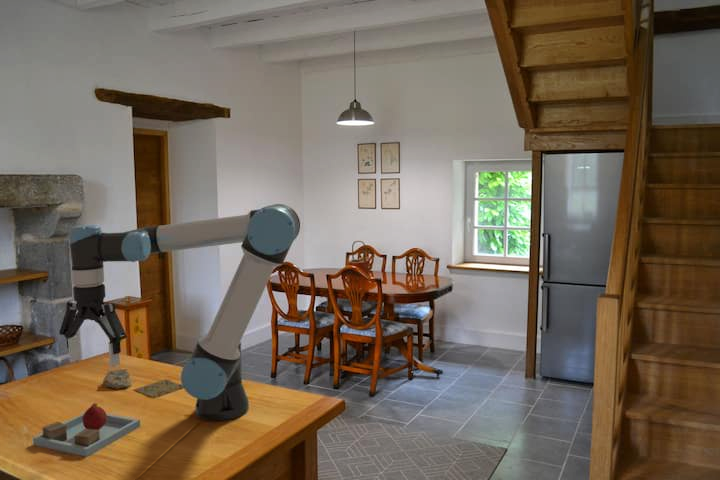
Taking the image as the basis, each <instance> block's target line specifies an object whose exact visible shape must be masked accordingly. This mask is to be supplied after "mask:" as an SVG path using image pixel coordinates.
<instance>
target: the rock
mask: <svg viewBox="0 0 720 480" xmlns="http://www.w3.org/2000/svg"><path fill="white" fill-rule="evenodd" d="M102 383H103V385H104V386H105V387H109V388H114V389H115V390H116V389H117V390H118V389H122V388H129V387H131V386H132V384H131V383H132V381H131V379H130V372H129V371H128V369H127V368H125V369H124V368H123V369H122V368H121V369H120V368H119V369H114V370H110V371H107V374H106V376H105V377H104V378H103V380H102Z"/></svg>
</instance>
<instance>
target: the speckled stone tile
mask: <svg viewBox="0 0 720 480" xmlns="http://www.w3.org/2000/svg"><path fill="white" fill-rule="evenodd" d="M179 390H184V387H183V385H182V383H176V382H174V381H172V380H170V379H163V380H159V381H156V382H153V383H150V384H147V385H143V386H140V387H138V388H133V391H134V392H137V393H138V394H142V395H143V396H146V397H148V398H151V399H153V400H154V399H157V398H160V397H162V396H165V395H168V394H170V393H174V392H177V391H179Z"/></svg>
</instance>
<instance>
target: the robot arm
mask: <svg viewBox="0 0 720 480" xmlns="http://www.w3.org/2000/svg"><path fill="white" fill-rule="evenodd" d="M300 230H301V221H300V218H299V215H298V213H297V212H296V211H295V210H294V208H292V207H291V206H288V205H285V204H282V203H277V204H272V205H267V206H264V207H262V208H260V209H251V210H249V212H248V213H247V214H239V215H234V216H227V217H218V218H212V219H211V218H210V219H201V220H194V221H186V222H179V223H178V222H177V223H171V224H164V225H158V226H157V225H156V226H142V227H139V228H136V229H132V230H131V229H130V230H128V231H124V232H122V231H121V232H102V228H101V226H100V225H98V224H87V225H85V224H83V225H74V226H72V227H70V229H69V243H68V245H69V248H70V249H69V251H70V261H71V278H72V281H71V282H72V285H74V286H73V288H72V291H73V292H72V293H73V300H70V301H67V302H66V311H65V315H64V317H63V320H62V323H61V326H60V329H59V335H61V336H64V337H65V339H66V348H67V349H68V359H69V360H68V361H69V363H74V362H76V361H79V360H80V359H81V358H80V355H81V354H80V343H79V342H80V341H79V335H78V333H77V332H78V331H79V330H80V329H81V326H82V325H83V323H84V322H85V320H86V321H87V320H90V321H94V322H95V323H97V324H98V325H99V326H100V328H101V329H102V331H103V332H104V333H105V335H106V337H107V338H108V339H109V342H108V343H107V344H108V357H109V358H108V359H109V360H108V361H109V367H110V368H115V367H116V366H119V365H120V364H121V361H120V359H121V358H120V353H121V352H122V348H121V341H122V340H125V339H127V333H126V331H125V328H124V327H123V324H122V322H121V320H120V318H119V316H118V313H117V312H116V306H115V303H114V302H111V303H106V304H105V302H104V299H105V298H106V286H105V284H104V282H105V272H104V263H105V262H106V263H107V262H131V263H136V262H141V261H142V262H144V261H146V260H147V259H148V258H149V257H150V255H152V254H153V255H154V254H158V253H159V254H160V253H165V252H173V251H174V252H175V251H182V250H190V249H192V250H193V249H198V248H207V247H208V248H209V247H214V246H225V245H232V244H240V243H241V246H240V248H241V250H242V252H243V255H242V258H241V260H240V262H239V264H238V266H237V268H236V271H235V273H234V275H233V277H232V280H231V282H230V285H229V286H228V288H227V291H226V293H225V296H224V297H223V299H222V302H221V303H220V307H219V308H218V310H217V313H216V315H215V317H214V319H213V321H212V324H211V326H210V328H209V331H208V332H207V333H204V334H201V335H200V336H199V338H198V341H197V343H196V345H195V347H194V349H193V351H192V354H191V356H190V358H189V360H188V361H187V362H185V364H184V366H183V367H182V369H181V370H182V371H181V373H180V382H181V383H180V384H181V385H183V387H184V388H183V390H184V391H185V392H186V393H187V394H188V395H190V396H191V397H193V398H195V399H196V402H195V415H196V417H198V418H199V419H200V420H204V421H210V422H211V421H212V422H219V421H227V420H233V419H237V418H239V417H241V416H244V415H245V414H246V413H247V412H248V411H249V405H250V404H249V401H250V400H249V399H248V396H247V393H246V390H245V388H244V385H243V381H242V379H243V378H242V377H243V375H242V373H243V372H242V369H243V368H242V339H243V337H244V334H245V332H246V330H247V328H248V326H249V323H250V321H251V320H252V318H253V314H254V312H255V311H256V308H257V306H258V305H259V301H260V300H261V298H262V295H263V293H264V291H265V289H266V286H267V285H268V282H269V280H270V278H271V276H272V273H273V271H274V269H275V268H276V267H280V266H282V265H283V264H284V262H285V260H286V257H287V256H288V253H289V251H290V249H291V246H292V245H293V243H294V241H295V240H296V239H297V238H298V236H299V233H300Z"/></svg>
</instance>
